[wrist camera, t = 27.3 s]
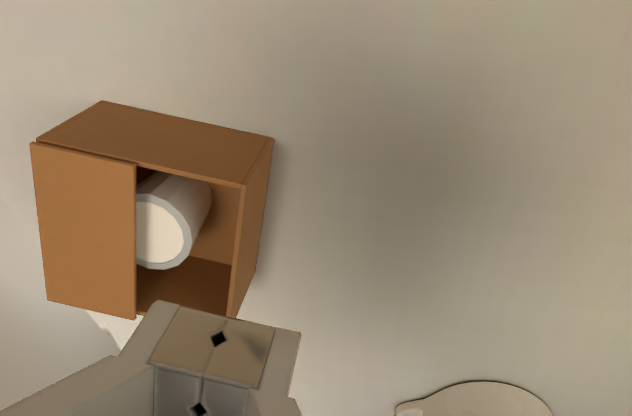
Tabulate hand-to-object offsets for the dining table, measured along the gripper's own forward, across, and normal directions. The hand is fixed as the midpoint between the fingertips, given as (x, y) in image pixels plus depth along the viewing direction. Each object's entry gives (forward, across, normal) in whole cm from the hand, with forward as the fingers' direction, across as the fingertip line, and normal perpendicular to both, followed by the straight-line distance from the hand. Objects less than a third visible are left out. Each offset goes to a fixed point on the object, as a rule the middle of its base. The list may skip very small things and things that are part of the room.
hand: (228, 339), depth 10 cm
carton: (+31, +12, +16) cm, 37 cm away
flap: (+22, +16, +15) cm, 31 cm away
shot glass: (+31, +12, +15) cm, 37 cm away
